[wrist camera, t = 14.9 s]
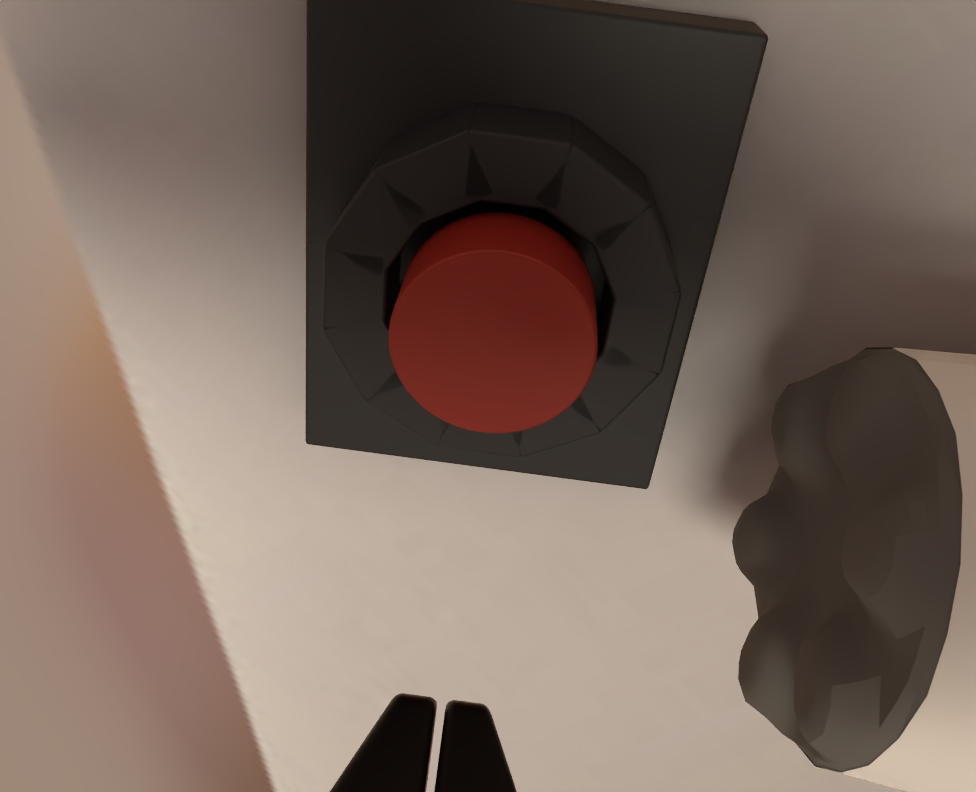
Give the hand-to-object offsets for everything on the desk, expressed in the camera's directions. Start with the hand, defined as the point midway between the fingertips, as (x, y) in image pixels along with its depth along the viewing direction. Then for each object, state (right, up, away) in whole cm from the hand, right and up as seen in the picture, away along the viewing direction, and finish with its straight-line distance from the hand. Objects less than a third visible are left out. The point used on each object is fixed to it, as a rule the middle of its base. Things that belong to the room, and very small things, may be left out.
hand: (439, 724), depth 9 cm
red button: (+1, +5, +8) cm, 9 cm away
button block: (+1, +6, +10) cm, 12 cm away
